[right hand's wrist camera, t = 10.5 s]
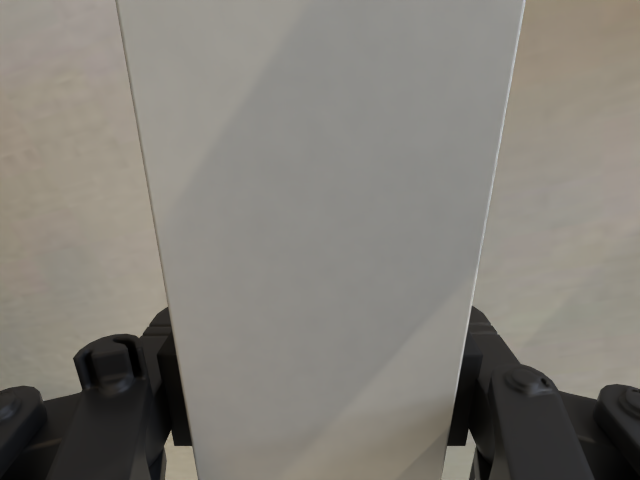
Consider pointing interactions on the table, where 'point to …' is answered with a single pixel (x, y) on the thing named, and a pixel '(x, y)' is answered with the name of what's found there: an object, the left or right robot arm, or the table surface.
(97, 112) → the table surface
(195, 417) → the bar
